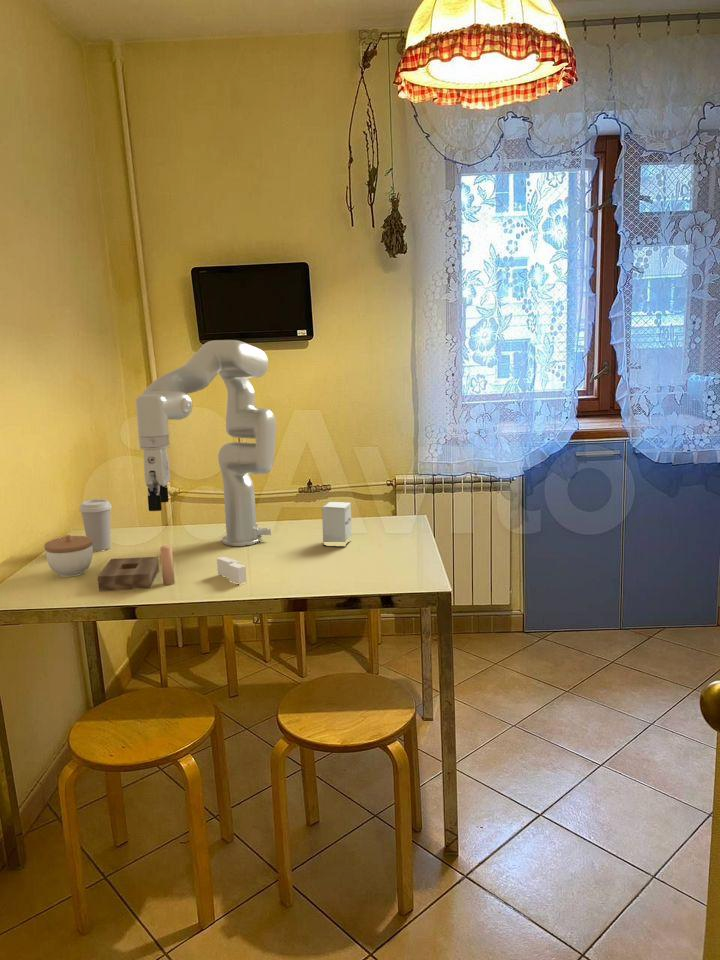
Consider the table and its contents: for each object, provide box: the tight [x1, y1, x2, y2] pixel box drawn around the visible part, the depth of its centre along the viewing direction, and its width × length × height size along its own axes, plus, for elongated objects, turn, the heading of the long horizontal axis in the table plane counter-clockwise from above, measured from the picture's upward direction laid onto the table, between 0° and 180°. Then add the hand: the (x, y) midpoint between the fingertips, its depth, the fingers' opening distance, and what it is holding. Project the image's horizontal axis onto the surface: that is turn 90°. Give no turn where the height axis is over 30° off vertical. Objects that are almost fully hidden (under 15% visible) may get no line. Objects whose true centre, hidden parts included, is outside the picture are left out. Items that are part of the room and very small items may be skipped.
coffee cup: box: [78, 498, 113, 552], centre depth 233 cm, size 10×10×15 cm
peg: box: [159, 545, 175, 586], centre depth 200 cm, size 3×3×10 cm
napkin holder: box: [216, 556, 247, 584], centre depth 202 cm, size 15×11×6 cm
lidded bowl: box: [44, 534, 94, 578], centre depth 211 cm, size 13×13×11 cm
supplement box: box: [321, 501, 353, 543], centre depth 232 cm, size 7×7×13 cm
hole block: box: [97, 556, 160, 592], centre depth 204 cm, size 13×15×4 cm
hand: (159, 506), depth 198 cm, fingers open, 9 cm apart
